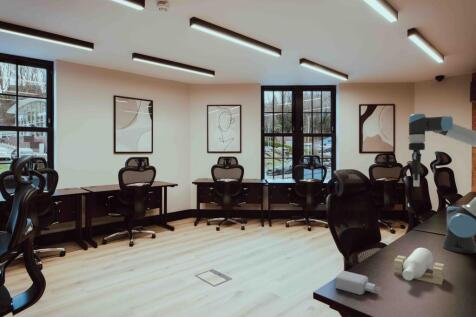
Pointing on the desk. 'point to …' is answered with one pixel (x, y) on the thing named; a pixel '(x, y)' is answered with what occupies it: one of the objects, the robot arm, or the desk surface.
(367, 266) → the desk surface
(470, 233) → the robot arm
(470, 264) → the desk surface
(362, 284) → the white flat bottle
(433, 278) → the bottle rest
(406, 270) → the bottle
